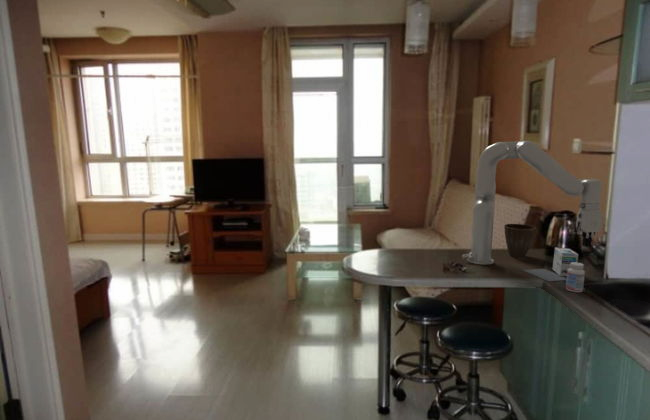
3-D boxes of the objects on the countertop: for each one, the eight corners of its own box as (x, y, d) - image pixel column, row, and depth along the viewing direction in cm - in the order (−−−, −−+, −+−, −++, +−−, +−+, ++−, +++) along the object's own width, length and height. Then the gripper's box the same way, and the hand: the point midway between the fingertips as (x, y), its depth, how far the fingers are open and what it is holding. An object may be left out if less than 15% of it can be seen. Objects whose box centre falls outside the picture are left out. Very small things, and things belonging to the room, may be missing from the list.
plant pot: (523, 252, 225) (526, 223, 223) (539, 259, 211) (541, 229, 208) (497, 252, 225) (499, 223, 222) (510, 260, 210) (513, 229, 207)
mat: (548, 281, 177) (548, 281, 177) (523, 270, 193) (523, 270, 193) (570, 280, 180) (570, 279, 180) (543, 269, 195) (543, 268, 195)
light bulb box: (576, 277, 182) (579, 254, 181) (559, 276, 184) (562, 252, 182) (567, 270, 193) (570, 248, 191) (551, 269, 194) (554, 247, 192)
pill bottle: (562, 287, 170) (564, 261, 168) (576, 287, 170) (578, 261, 169) (572, 293, 164) (574, 266, 162) (586, 292, 165) (589, 265, 163)
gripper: (582, 208, 180) (579, 249, 183) (610, 206, 184) (607, 246, 186) (569, 206, 188) (566, 245, 190) (596, 204, 191) (593, 243, 194)
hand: (586, 246), depth 188 cm, fingers closed
